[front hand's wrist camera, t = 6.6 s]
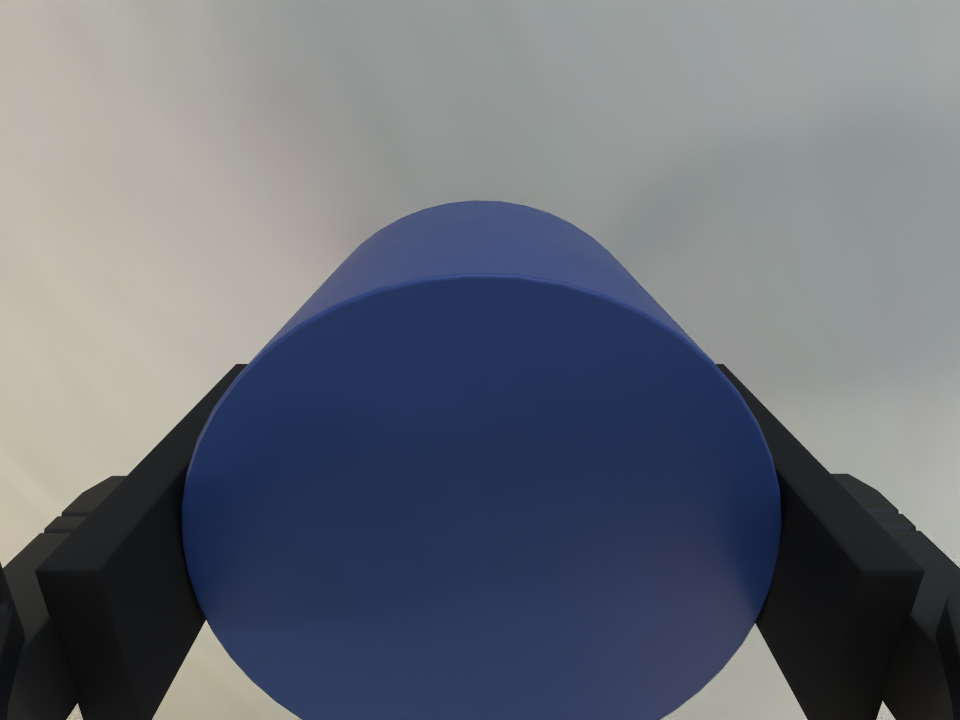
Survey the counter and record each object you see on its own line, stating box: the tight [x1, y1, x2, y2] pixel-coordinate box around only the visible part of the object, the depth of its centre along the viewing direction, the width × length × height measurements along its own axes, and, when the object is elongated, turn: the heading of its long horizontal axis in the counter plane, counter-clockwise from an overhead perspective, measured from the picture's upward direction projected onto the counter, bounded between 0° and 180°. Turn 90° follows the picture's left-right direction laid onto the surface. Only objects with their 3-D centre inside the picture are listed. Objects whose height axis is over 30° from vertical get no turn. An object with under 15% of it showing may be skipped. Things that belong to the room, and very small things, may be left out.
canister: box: [182, 201, 782, 720], centre depth 13 cm, size 9×9×7 cm
